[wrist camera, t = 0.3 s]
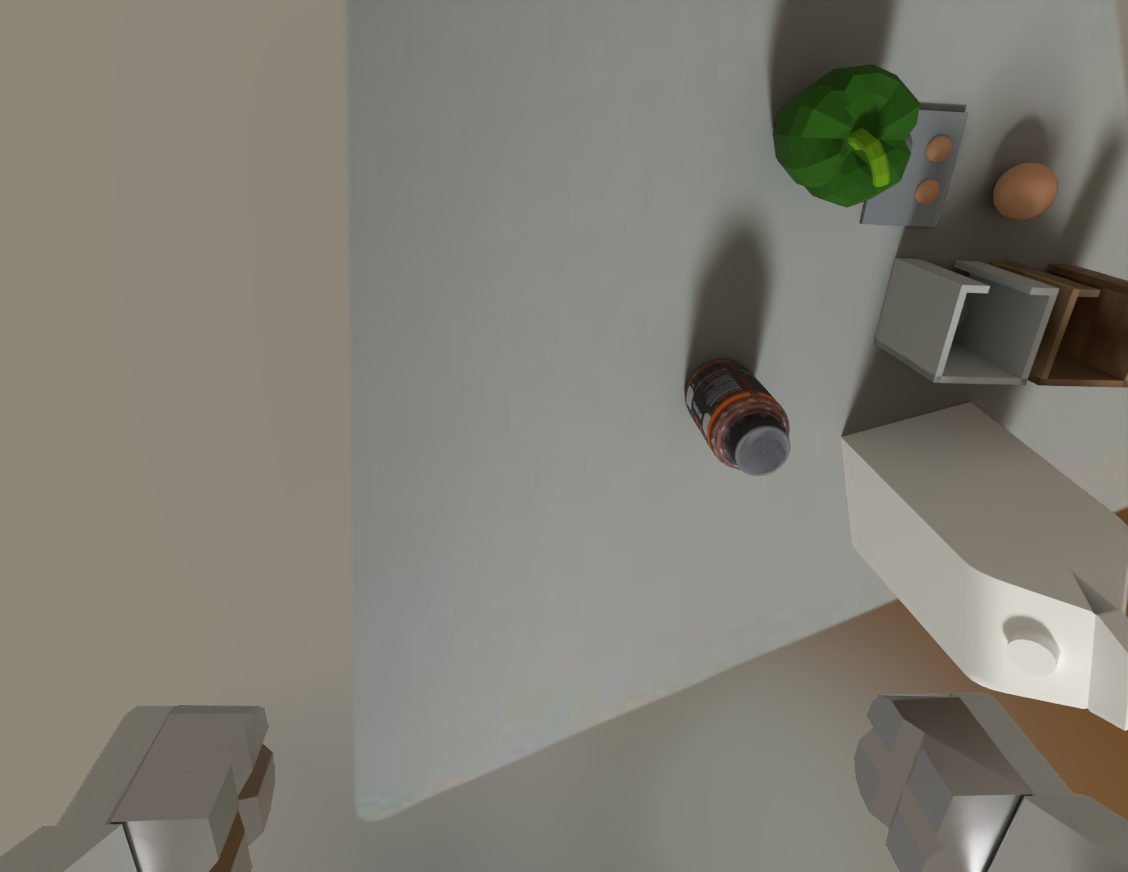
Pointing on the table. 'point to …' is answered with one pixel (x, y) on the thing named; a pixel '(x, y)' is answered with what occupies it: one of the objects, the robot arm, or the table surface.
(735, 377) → the supplement bottle
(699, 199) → the table surface
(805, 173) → the bell pepper
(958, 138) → the card
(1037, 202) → the loose ball
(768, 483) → the table surface
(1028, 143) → the table surface
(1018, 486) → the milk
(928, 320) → the grey tube
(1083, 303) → the walnut tube
